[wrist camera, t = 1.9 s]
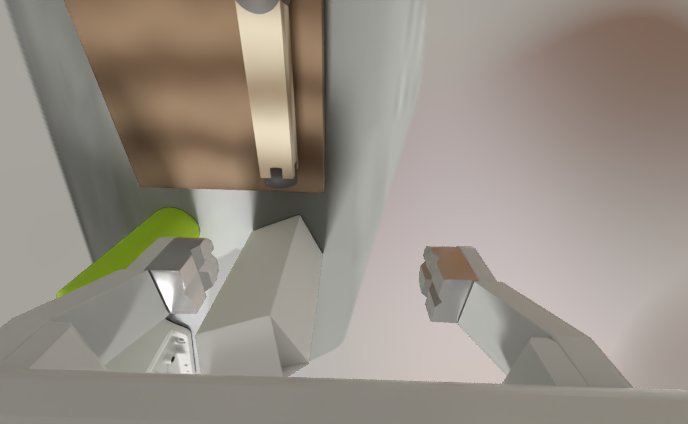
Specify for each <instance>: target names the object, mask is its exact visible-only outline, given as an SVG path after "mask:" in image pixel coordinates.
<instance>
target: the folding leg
mask: <svg viewBox="0 0 688 424" xmlns="http://www.w3.org/2000/svg"><path fill="white" fill-rule="evenodd" d="M290 1H291V0H235V3H236V10H237V17H238V24H239V31H240V38H241V45H242V52H243V59H244V66H245V73H246V79H247V86H248V93H249V100H250V107H251V114H252V121H253V128H254V135H255V142H256V149H257V156H258V163H259V169H260V176H261V178H264V181H265V185H266V186H268V187H270V188H276V189H283V188H289V187H292V186H294V185H296V184H297V182H298V176H297V169H298V151H297V135H296V119H295V104H294V88H293V72H292V56H291V40H290V24H289V8H288V7H289V4H290Z"/></svg>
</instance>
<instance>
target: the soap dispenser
mask: <svg viewBox="0 0 688 424" xmlns="http://www.w3.org/2000/svg"><path fill="white" fill-rule="evenodd" d="M199 234H200V230H199V226H198V224H197V222H196V221H195V220H194V219H193V218H192V217H191V216H190V215H189V214H187V213H186V212H184V211H182V210H179V209H176V208H162V209H160V210H158V211H157V212H155V213H154V214H153V215H152V216H150V217H149V218H148V219H147V220H146V221H144V222H143V223H142V224H141V225H139V226H138V227H137V228H136V229H135V230H133V231H132V232H131V233H130V234H128V235H127V236H126V237H125V238H123V239H122V240H121V241H120V242H119V243H117V244H116V245H115V246H114V247H112V248H111V249H110V250H109V251H108V252H106V253H105V254H104V255H103V256H101V257H100V258H99V259H98V260H97V261H95V262H94V263H93V264H92V265H90V266H89V267H88V268H87V269H86V270H84V271H83V272H82V273H81V274H80V275H78V276H77V277H76V278H75V279H73V280H72V281H71V282H70V283H68V284H67V285H66V286H65V287H64V288H62V289H61V290H60V291H59V292H58V293H57V296H56V298H58V297H61V296H63V295H65V294H67V293H69V292H72V291H74V290H76V289H78V288H80V287H83V286H85V285H87V284H89V283H91V282H94V281H96V280H98V279H100V278H102V277H105V276H107V275H109V274H111V273H113V272H116V271H118V270H125V269H126V268H127V267H128V266H129V265H131V264H132V263H133V262H134V261H135V260H136V259H137V258H138V257H139V256H140V255H141V254H142V253H143V252H144V251H145V250H146V249H147V248H148V247H149V246H150V245H152V244H153V243H154V242H155V241H156V240H157V239H158V238H160V237H187V238H198V237H199Z"/></svg>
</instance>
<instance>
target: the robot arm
mask: <svg viewBox="0 0 688 424" xmlns="http://www.w3.org/2000/svg"><path fill="white" fill-rule="evenodd" d="M213 249H214V248H213V245H212V242H211V240H209V239H205V238H187V237H160V238H158V239H157V240H156V241H155V242H154V243H153V244H152V245H150V246H149V247H148V248H147V249H146V250H145V251H144V252H143V253H142V254H141V255H140V256H139V257H138V258H137V259H136V260H135V261H134V262H133V263H132V264H131V265H129V266H128V267H127V268H126V269H125V270H118V271H116V272H113V273H111V274H109V275H107V276H105V277H102V278H100V279H98V280H96V281H94V282H91V283H89V284H87V285H85V286H83V287H80V288H78V289H76V290H74V291H72V292H69V293H67V294H65V295H63V296H61V297H58V298H56V299H54V300H52V301H49V302H47V303H45V304H43V305H41V306H38V307H36V308H34V309H32V310H30V311H27V312H25V313H23V314H21V315H19V316H16V317H14V318H12V319H11V320H10V321H8V322H7V323H6V324H4V325H3V326H2V327H1V328H0V424H688V390H675V389H644V388H633V387H632V386H631V384H630V383H629V382H628V381H627V380H626V379H625V377H624V376H623V375H622V374H621V373H620V372H619V370H618V369H617V368H616V367H615V366H614V364H613V363H612V362H611V361H610V360H609V359H608V358H607V356H606V355H605V354H604V353H603V352H602V350H601V349H600V348H599V347H598V346H597V345H596V343H595V342H594V341H593V340H592V339H591V338H590V337H588V336H587V335H585V334H584V333H582V332H581V331H579V330H577V329H576V328H574V327H573V326H571V325H569V324H568V323H566V322H565V321H563V320H562V319H560V318H558V317H557V316H555V315H554V314H552V313H551V312H549V311H547V310H546V309H544V308H543V307H541V306H539V305H538V304H536V303H535V302H533V301H532V300H530V299H528V298H527V297H525V296H524V295H522V294H520V293H519V292H517V291H516V290H514V289H513V288H511V287H509V286H508V285H506V284H505V283H503V282H497V281H496V279H495V278H494V276H493V274H492V273H491V271H490V270H489V268H488V267H487V265H486V264H485V262H484V261H483V259H482V258H481V256H480V255H479V253H478V252H477V250H476V249H475V248H473V247H471V246H470V247H469V246H468V247H467V246H457V247H443V246H442V247H441V246H426V248H425V250H424V254H423V256H424V259H425V262H424V263H423V264H422V265H421V267H420V272H419V283H420V288H421V291H422V294H423V295H425V296H426V297H427V299H426V303H425V305H426V308H427V311H428V314H429V318H430V321H432V322H449V323H458V325H459V326H460V327H461V328H462V330H463V331H464V332H465V333H467V335H468V336H469V337H470V338H471V339H472V340H473V341H474V342H475V343H476V344H477V345H478V346H479V347H480V348H481V349H482V350H483V351H484V352H485V354H487V356H488V357H489V358H490V359H491V360H492V361H493V362H494V363H495V364H496V365H497V366H498V367H499V368H500V369H501V370H502V371H503V372H504V373H505V374H506V378H505V379H504V381H503V383H502V384H489V383H488V384H486V383H458V382H457V383H456V382H427V381H426V382H425V381H396V380H365V379H364V380H363V379H334V378H331V379H330V378H302V377H272V376H242V375H212V374H195V364H194V356H193V347H192V339H191V332H190V331H189V330H188V329H186V328H184V327H182V326H179V325H176V324H174V323H172V322H170V321H168V320H167V319H165V318H166V317H167V316H168V315H169V314H197V312H198V310H199V309H200V307H201V305H202V303H203V302H204V300H205V298H206V294H205V291H206V290H208V289H209V288H211V287H212V286H213V284H214V283H215V281H216V279H217V275H218V262H217V259H216V258H215V257H214V256H213V255H212V254H211V252H212V251H213Z"/></svg>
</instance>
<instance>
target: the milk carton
mask: <svg viewBox="0 0 688 424" xmlns="http://www.w3.org/2000/svg"><path fill="white" fill-rule="evenodd" d="M322 259H323V254H322V253H321V251H320V249H319V247H318V246H317V244H316V242H315V240H314V239H313V237H312V235H311V233H310V232H309V230H308V228H307V226H306V225H305V223H304V221H303V219H302V218H301V216H300V215H297V216H294V217H291V218H288V219H286V220H283V221H280V222H277V223H274V224H271V225H268V226H265V227H263V228H260V229H257V230H254V231H252V233H251V234H250V236H249V238H248V240H247V242H246V244H245V245H244V247H243V249H242V251H241V253H240V255H239V257H238V258H237V260H236V262H235V264H234V266H233V267H232V269H231V271H230V273H229V275H228V277H227V278H226V280H225V282H224V284H223V286H222V288H221V290H220V291H219V293H218V295H217V297H216V299H215V301H214V302H213V304H212V306H211V308H210V310H209V311H208V313H207V315H206V317H205V319H204V321H203V322H202V324H201V326H200V328H199V330H198V332H197V333H196V335H195V338H196V345H197V351H198V358H199V364H200V371H201V374H212V375H242V376H272V377H288V376H290V375H291V374H293V373H295V372H296V371H298V370H299V369H301V368H303V367H304V366H306V365H307V364H309V360H310V353H311V345H312V337H313V330H314V322H315V314H316V306H317V298H318V290H319V283H320V275H321V267H322Z"/></svg>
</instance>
